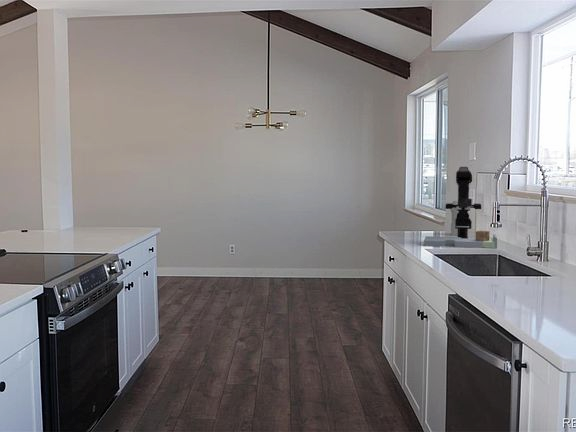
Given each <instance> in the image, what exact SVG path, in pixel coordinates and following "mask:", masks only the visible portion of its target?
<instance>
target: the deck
mask: <svg viewBox="0 0 576 432" xmlns="http://www.w3.org/2000/svg"><path fill="white" fill-rule="evenodd" d="M475 239H476V237H469V238H468V239H465V238H461V237H457V236H431V235H430V236H425V237H424V239H423V247H441V246H453V247H452V248H473V247H485V248H484V249H497V248H498V237H497V235H496V233H493V235H492V237H489V241H484V242H483V241H475Z"/></svg>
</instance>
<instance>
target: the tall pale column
mask: <svg viewBox="0 0 576 432" xmlns="http://www.w3.org/2000/svg"><path fill="white" fill-rule="evenodd" d="M452 203H453V205H458V199H456V200H453V201H452ZM456 209H457V208H452V209H450V213H451V224H450V236H451V237H457V234H458V229H455V218H457V214H458V212H459V211H457V210H456ZM456 227H469V226H456Z"/></svg>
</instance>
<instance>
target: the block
mask: <svg viewBox="0 0 576 432" xmlns="http://www.w3.org/2000/svg"><path fill="white" fill-rule="evenodd" d="M475 238H476V239H475V241H483V242H484V241H489V238H490V231H489V230H475Z"/></svg>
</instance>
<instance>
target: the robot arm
mask: <svg viewBox="0 0 576 432" xmlns="http://www.w3.org/2000/svg"><path fill="white" fill-rule="evenodd" d="M455 182H456V184H457V185H456V186H457V200H458V205H453V202H452V203H451V202H450V203H449V202H447V203H446V204H445V210H451V209H452V208H457V209H456V210H457V211H459V212H458V214H457V218H455V229H458V234H457V236H456V237H461V238H465V239H469V237H468V235H469V230H471V229H472V224H473V223H472V220H471V218H470V213H468V212H469V211H471V209H475V210H482V204H481V203H475V202H474V203H473V204H472V202H473V201H472V198H470V184H471V183H472V182H473V174H472V172H471V171H470V170H469V167H468V166H459V167H458V170H457V171H456V172H455ZM456 226H468V227H456Z"/></svg>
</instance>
